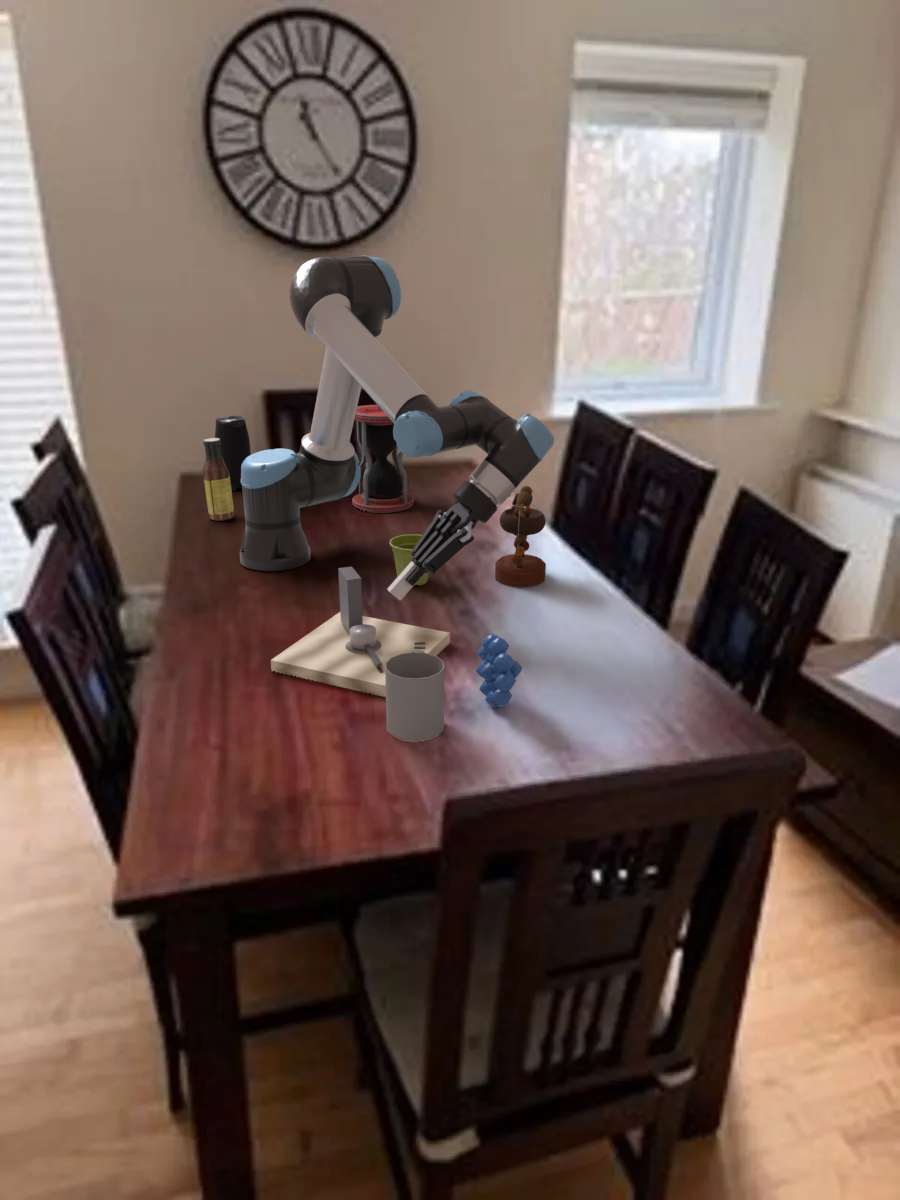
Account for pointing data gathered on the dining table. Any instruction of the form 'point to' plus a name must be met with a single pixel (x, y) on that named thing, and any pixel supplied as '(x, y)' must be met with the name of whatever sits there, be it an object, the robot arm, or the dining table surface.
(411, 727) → the cup
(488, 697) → the grapes
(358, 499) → the hourglass
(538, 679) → the dining table surface
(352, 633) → the lever dial gauge
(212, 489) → the sauce bottle
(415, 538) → the plant pot
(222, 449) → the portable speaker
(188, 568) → the dining table surface
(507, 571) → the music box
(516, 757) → the dining table surface
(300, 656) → the dial plate
